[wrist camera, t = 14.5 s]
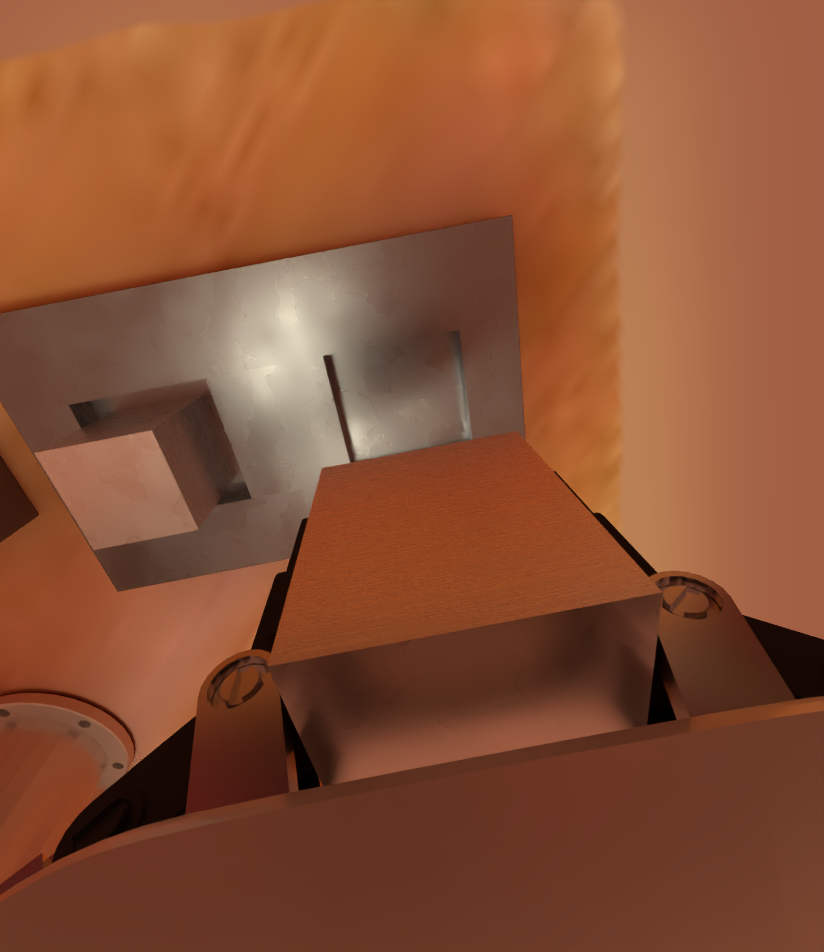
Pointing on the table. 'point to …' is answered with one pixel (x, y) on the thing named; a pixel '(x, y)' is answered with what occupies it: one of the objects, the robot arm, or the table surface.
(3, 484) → the button housing
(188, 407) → the seated billet
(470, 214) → the table surface
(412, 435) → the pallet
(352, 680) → the block
